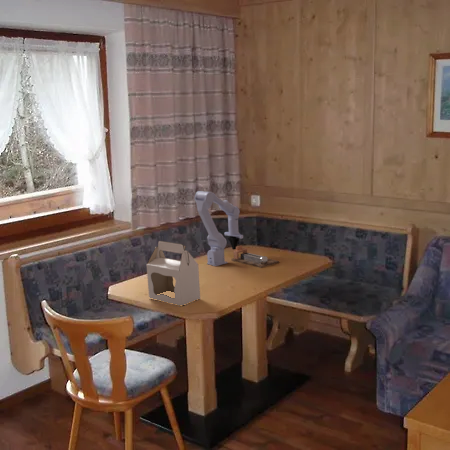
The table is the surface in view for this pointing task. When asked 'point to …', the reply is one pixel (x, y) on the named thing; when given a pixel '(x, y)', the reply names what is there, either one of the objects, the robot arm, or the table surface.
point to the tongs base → (254, 259)
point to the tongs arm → (252, 254)
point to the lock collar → (238, 250)
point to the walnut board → (269, 262)
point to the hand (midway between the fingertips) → (234, 249)
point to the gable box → (173, 275)
